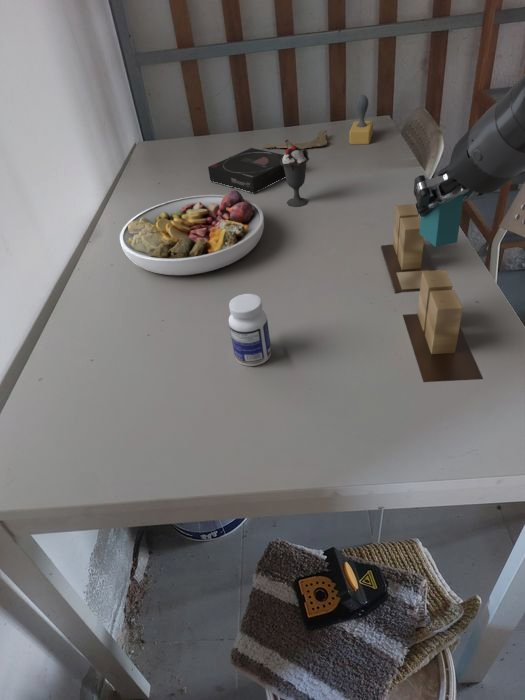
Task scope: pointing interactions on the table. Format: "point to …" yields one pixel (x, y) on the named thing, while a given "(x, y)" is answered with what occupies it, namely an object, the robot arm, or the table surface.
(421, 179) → the robot arm
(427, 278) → the near word
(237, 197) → the bowl
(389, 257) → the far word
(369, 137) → the rubber stamp
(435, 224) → the teal upright block
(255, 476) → the table surface
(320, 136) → the jawbone
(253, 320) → the pill bottle
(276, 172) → the black pizza box
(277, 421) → the table surface
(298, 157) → the sundae
